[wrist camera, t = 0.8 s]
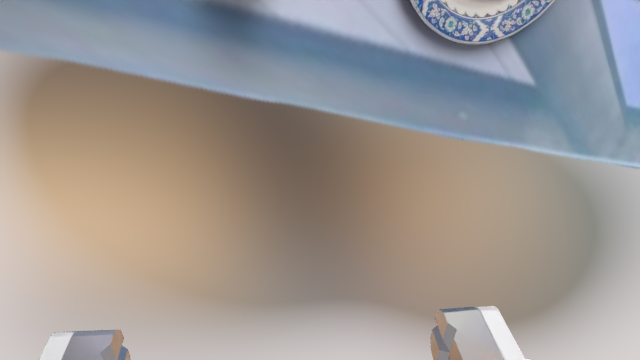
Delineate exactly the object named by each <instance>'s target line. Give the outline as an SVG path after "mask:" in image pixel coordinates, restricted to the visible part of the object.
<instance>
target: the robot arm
mask: <svg viewBox="0 0 640 360" xmlns="http://www.w3.org/2000/svg"><path fill="white" fill-rule="evenodd" d="M435 320H436V322H437V326H436V327H435V328H434V329H432V333H431V351H432V356H433V359H434V360H532V359H525V358H524V356H523V354H522V352H521V350H520V349H519V347H518V345H517V343H516V341H515V339H514V338H513V336H512V334H511V332H510V331H509V328H508V327H507V325H506V323H505V321H504V319H503V318H502V316H501V314H500V312H499V310H498V309H497V308H496V307H495V306H485V307H464V308H452V309H440V310H438V311H437V313H436V317H435ZM123 339H124V337H123V335H122V332H121V330H99V331H72V332H55V333H54V334H53V335H52V336H51V337H50V338H49V339H48V341H47V344H46V345H45V348H44V350H43V352H42V354H41V356H40V358H39V360H130V355H129V351H128V349H126V348H125V347H123V346H122V343H123Z"/></svg>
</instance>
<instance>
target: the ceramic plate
mask: <svg viewBox="0 0 640 360" xmlns="http://www.w3.org/2000/svg"><path fill="white" fill-rule="evenodd" d="M410 1H411V3H412V5H413V7H414V9H415V11H416V12H417V13H418V15H419V16H420V17H421V19H422V20H423V21H424V22H425V23H426V24H427V25H428V26H429V27H430V28H431V29H432V30H433V31H435V32H436V33H437V34H439V35H441V36H443V37H444V38H446V39H449V40H451V41H454V42H458V43H462V44H474V45H477V44H487V43H491V42H495V41H498V40H501V39H504V38H506V37H509V36H511V35H513V34H515V33H517V32H519V31H520V30H522V29H523V28H525V27H526V26H528V25H529V24H531V23H532V22H533V21H535V20H536V19H537V18H538V17H539V16H541V15H542V14H543V13H544V12H545V11H546V10H547V9H548V8H549V7H550V6H551V5H552V4H553V2H554V1H555V0H410Z"/></svg>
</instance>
